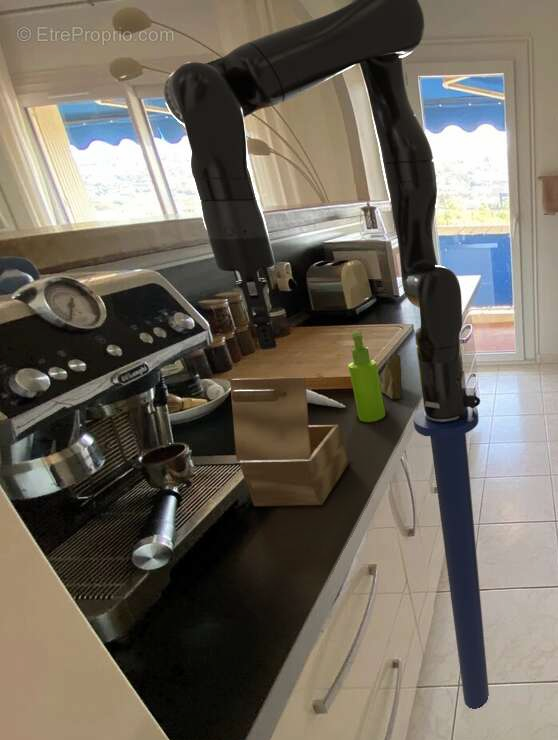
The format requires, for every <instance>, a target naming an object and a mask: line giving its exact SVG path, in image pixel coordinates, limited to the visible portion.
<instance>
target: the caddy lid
mask: <svg viewBox="0 0 558 740" xmlns="http://www.w3.org/2000/svg"><path fill="white" fill-rule="evenodd" d="M306 379H307V378H306V377H304V376H303V377H262V378H261V377H260V378H255V377H254V378H230V379H229V381H230V383H229V385H230V395H231V396H230V397H231V407H232V410H231V411H232V422H233V433H234V434H233V435H234V444H235V445H234V446H235V457H236V458H235V459H236V461H237V462H240V461H253V460H297V459H310V458H311V454H310V439H309V425H310V424H309V411H308V403H307V393H306V389H307V380H306Z"/></svg>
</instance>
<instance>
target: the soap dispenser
mask: <svg viewBox="0 0 558 740" xmlns="http://www.w3.org/2000/svg"><path fill="white" fill-rule="evenodd" d="M362 333H363V332H362V330H355V331H352V332H351V334H352V335H351V336H352V340H353V345H354V347H352V349H351V354H352V360H353V362H350V363H349V364H348V370H349V375H350V381H351V386H352V390H353V394H354V395H353V396H354V400H355V404H356V410H357V411H356V412H357V415H358V420H359V421H360V422H364V423H373V422H377V421H379V420H382V419H383V418H385V417H386V411H385V404H384V398H383V394H382V393H383V392H382V391H381V387H380V385H381V380H380V375H379V371H378V369H379V368H378V364H377V361H376V360H374V359H371V358H370V353H369V348H368V347H367V346H365V345H364V344H363V334H362Z"/></svg>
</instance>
